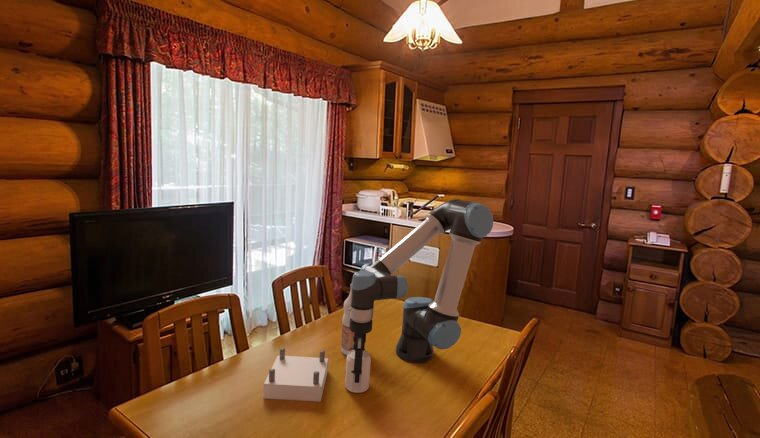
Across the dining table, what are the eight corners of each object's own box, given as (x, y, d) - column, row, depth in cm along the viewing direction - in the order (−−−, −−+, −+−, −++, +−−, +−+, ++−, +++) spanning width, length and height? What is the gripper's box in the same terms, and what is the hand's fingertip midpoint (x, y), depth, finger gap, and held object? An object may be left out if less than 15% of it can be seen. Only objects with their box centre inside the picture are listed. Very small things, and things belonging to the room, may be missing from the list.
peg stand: (327, 371, 143) (328, 349, 142) (320, 401, 126) (321, 376, 124) (277, 368, 143) (278, 346, 142) (263, 398, 125) (264, 373, 124)
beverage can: (365, 396, 130) (367, 362, 128) (341, 391, 131) (343, 358, 130) (371, 383, 138) (373, 350, 136) (348, 378, 139) (350, 346, 137)
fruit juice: (347, 343, 165) (350, 278, 161) (367, 348, 162) (372, 282, 158) (336, 353, 157) (340, 285, 152) (358, 359, 153) (362, 289, 149)
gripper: (352, 304, 143) (348, 361, 146) (347, 333, 119) (343, 400, 122) (373, 305, 143) (369, 362, 146) (372, 335, 119) (367, 401, 123)
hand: (357, 379), depth 134 cm, fingers open, 11 cm apart
